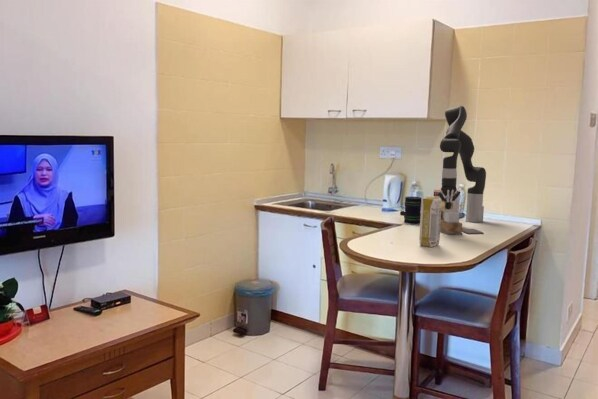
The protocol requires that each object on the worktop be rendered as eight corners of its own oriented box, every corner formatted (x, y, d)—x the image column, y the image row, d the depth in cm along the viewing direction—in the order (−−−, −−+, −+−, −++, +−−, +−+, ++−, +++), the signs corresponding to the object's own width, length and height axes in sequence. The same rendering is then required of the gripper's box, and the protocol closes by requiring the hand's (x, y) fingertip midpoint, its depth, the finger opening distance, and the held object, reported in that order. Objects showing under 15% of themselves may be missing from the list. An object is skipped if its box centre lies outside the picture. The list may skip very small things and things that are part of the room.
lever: (437, 216, 295) (438, 201, 294) (444, 217, 294) (444, 201, 293) (437, 222, 278) (438, 206, 277) (444, 222, 277) (445, 206, 276)
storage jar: (419, 221, 317) (420, 196, 315) (421, 224, 307) (423, 198, 305) (402, 220, 318) (404, 196, 316) (404, 223, 308) (405, 198, 306)
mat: (473, 230, 291) (473, 228, 291) (483, 233, 281) (483, 232, 281) (458, 230, 289) (459, 229, 289) (468, 234, 280) (468, 232, 279)
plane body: (444, 227, 298) (445, 216, 297) (462, 234, 278) (463, 223, 277) (430, 227, 296) (431, 217, 296) (447, 235, 276) (448, 223, 276)
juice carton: (425, 242, 257) (428, 194, 254) (441, 245, 252) (443, 195, 249) (417, 245, 250) (419, 195, 246) (432, 248, 245) (435, 197, 242)
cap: (454, 221, 284) (454, 212, 283) (458, 222, 279) (459, 213, 279) (444, 221, 283) (444, 212, 282) (448, 223, 278) (448, 213, 277)
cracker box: (431, 224, 306) (433, 189, 304) (433, 222, 312) (435, 188, 309) (455, 227, 300) (458, 190, 297) (458, 225, 305) (460, 189, 302)
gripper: (457, 175, 282) (455, 207, 284) (434, 176, 279) (433, 208, 282) (464, 177, 275) (462, 209, 277) (440, 177, 272) (439, 210, 275)
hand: (447, 209), depth 279 cm, fingers closed
